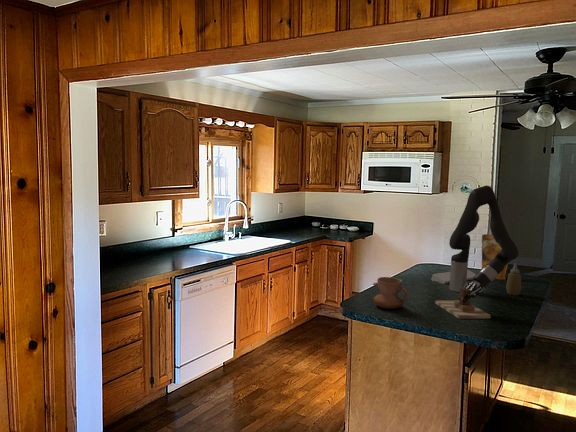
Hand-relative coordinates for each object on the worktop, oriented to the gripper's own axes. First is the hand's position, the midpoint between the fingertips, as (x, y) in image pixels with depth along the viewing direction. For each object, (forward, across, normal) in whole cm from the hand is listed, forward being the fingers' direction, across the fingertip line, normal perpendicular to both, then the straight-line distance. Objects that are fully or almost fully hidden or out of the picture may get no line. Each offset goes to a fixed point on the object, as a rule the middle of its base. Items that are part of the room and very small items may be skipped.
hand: (461, 300), depth 242 cm
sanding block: (+2, 0, +4) cm, 5 cm away
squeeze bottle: (-30, -32, +39) cm, 59 cm away
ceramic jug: (+28, -9, -19) cm, 35 cm away
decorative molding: (-18, -68, +28) cm, 76 cm away
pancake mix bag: (-40, -74, +48) cm, 97 cm away
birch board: (+3, -3, +6) cm, 7 cm away
